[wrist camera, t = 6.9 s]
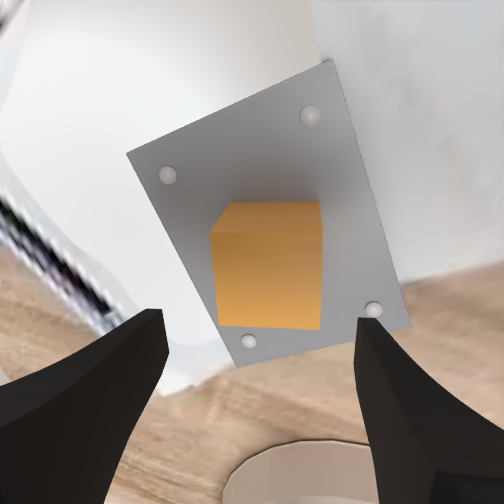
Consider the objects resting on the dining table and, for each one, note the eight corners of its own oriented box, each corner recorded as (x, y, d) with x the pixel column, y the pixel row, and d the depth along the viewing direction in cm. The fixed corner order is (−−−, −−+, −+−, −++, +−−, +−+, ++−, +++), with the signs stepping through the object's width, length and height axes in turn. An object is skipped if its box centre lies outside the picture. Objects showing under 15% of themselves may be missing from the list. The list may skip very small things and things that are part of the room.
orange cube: (319, 201, 20) (323, 232, 15) (317, 280, 22) (319, 329, 17) (230, 201, 20) (209, 232, 16) (236, 278, 22) (218, 325, 18)
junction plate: (407, 318, 23) (428, 366, 19) (239, 358, 26) (226, 406, 22) (331, 60, 18) (338, 50, 14) (133, 150, 21) (92, 164, 17)
